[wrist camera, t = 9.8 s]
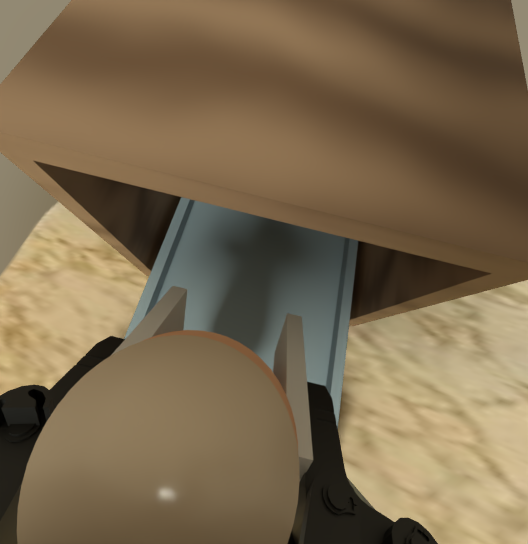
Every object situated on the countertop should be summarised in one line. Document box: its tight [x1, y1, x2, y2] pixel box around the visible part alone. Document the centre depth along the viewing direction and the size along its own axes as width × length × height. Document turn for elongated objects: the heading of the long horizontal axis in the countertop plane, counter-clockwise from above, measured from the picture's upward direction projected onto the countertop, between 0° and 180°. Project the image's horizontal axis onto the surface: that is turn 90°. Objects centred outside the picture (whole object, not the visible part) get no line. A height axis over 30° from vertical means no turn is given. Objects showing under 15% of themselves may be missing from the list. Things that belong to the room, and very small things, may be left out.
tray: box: [124, 197, 374, 509], centre depth 20 cm, size 22×19×6 cm
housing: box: [0, 0, 528, 326], centre depth 19 cm, size 22×20×16 cm
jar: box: [17, 330, 300, 544], centre depth 10 cm, size 5×5×11 cm
